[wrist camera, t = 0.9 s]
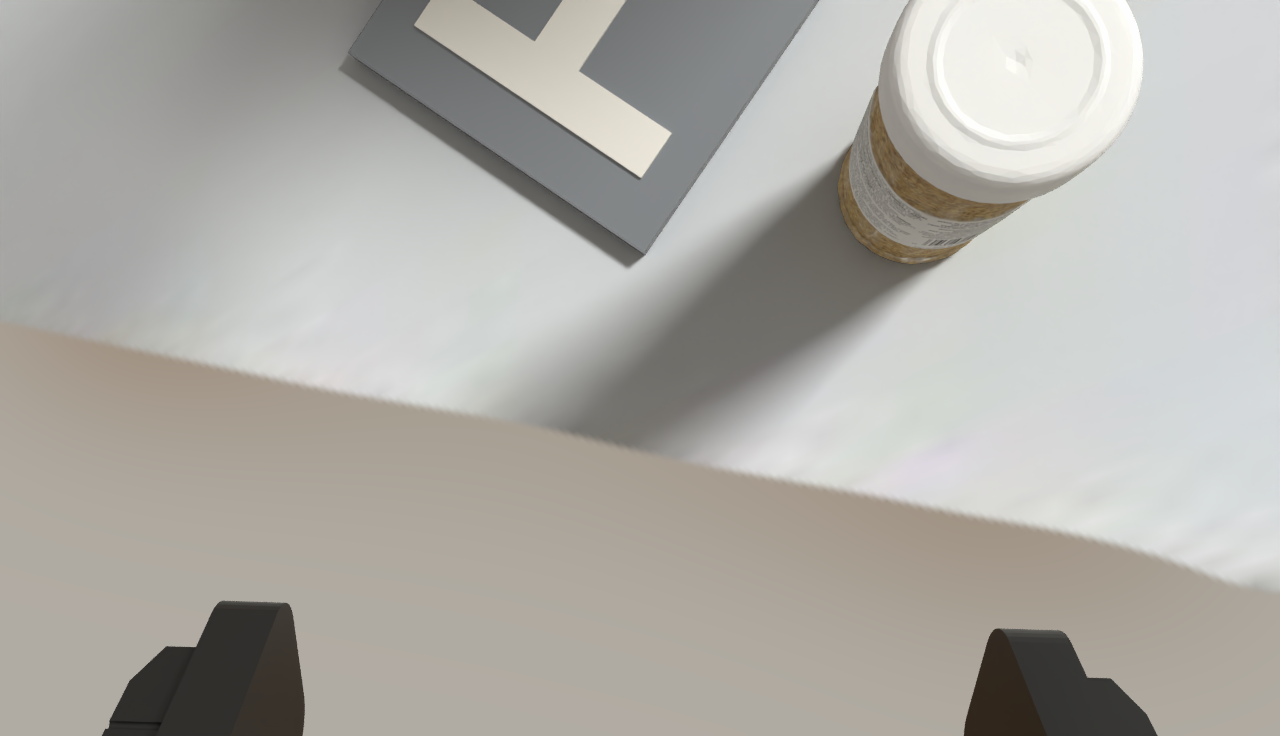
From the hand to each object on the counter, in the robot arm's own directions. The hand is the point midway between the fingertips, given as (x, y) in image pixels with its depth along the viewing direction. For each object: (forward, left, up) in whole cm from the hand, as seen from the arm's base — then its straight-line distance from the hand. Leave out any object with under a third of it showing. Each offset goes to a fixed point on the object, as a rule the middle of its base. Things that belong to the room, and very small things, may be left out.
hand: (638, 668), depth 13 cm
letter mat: (-11, -11, -21) cm, 26 cm away
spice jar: (-11, 0, -21) cm, 24 cm away
